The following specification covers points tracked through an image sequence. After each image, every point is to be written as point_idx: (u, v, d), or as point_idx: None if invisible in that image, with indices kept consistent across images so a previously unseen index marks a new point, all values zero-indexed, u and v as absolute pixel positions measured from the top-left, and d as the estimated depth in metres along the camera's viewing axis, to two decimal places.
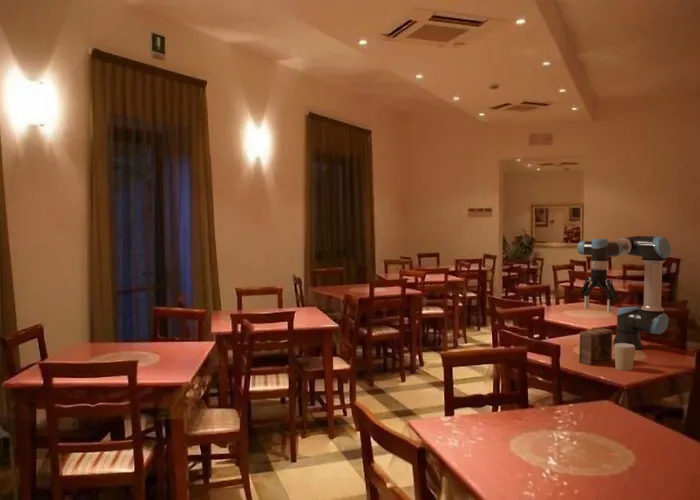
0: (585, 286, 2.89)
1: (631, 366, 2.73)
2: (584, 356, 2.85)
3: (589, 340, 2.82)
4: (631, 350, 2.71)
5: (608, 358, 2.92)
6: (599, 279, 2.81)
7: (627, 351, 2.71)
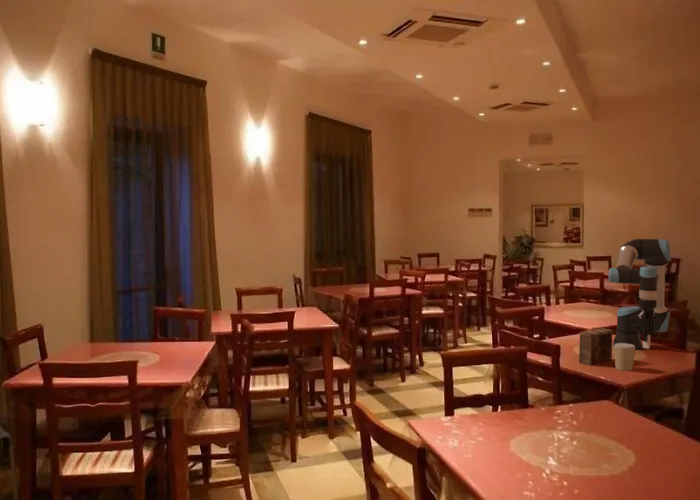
0: None
1: (631, 366, 2.73)
2: (584, 356, 2.85)
3: (589, 340, 2.82)
4: (631, 350, 2.71)
5: (608, 358, 2.92)
6: None
7: (627, 351, 2.71)
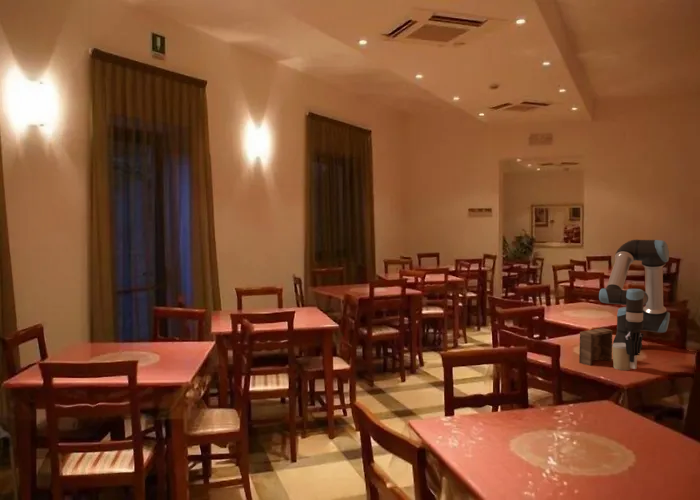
0: None
1: (629, 365, 2.74)
2: (584, 356, 2.85)
3: (589, 340, 2.82)
4: None
5: (608, 358, 2.92)
6: None
7: (625, 350, 2.72)
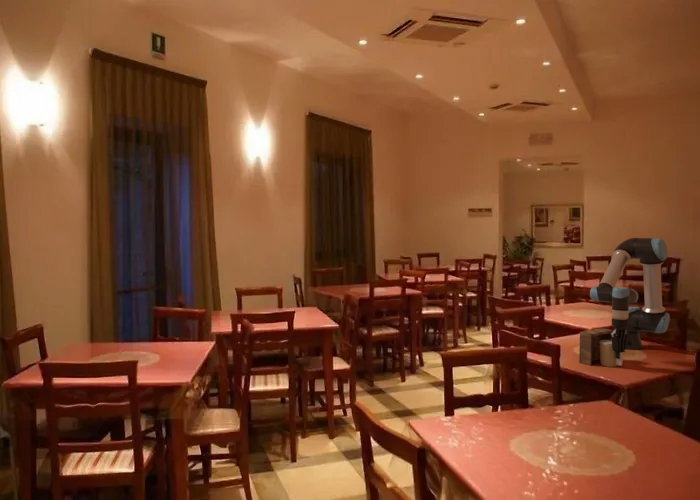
0: None
1: (615, 362, 2.80)
2: (584, 356, 2.85)
3: (589, 340, 2.82)
4: None
5: None
6: None
7: (610, 347, 2.79)
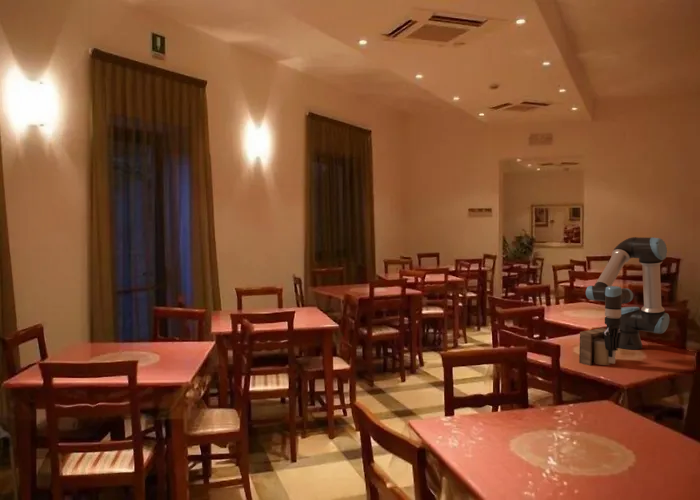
0: None
1: None
2: (584, 356, 2.85)
3: (589, 340, 2.82)
4: None
5: None
6: None
7: (603, 346, 2.82)
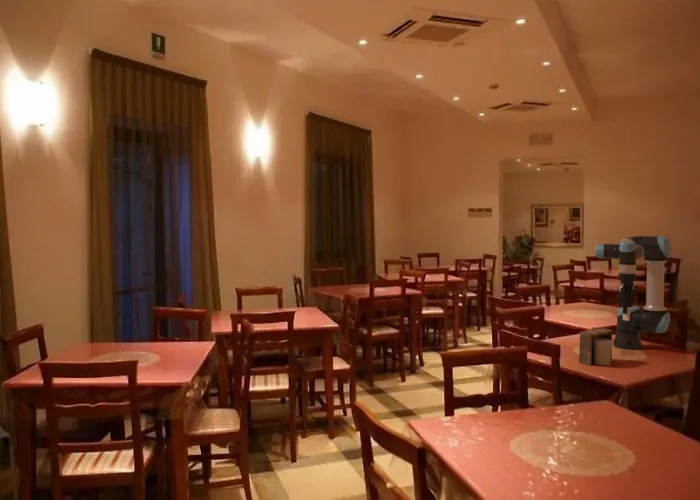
0: None
1: (608, 361, 2.83)
2: (584, 356, 2.85)
3: (589, 340, 2.82)
4: (607, 345, 2.82)
5: None
6: None
7: (603, 346, 2.82)
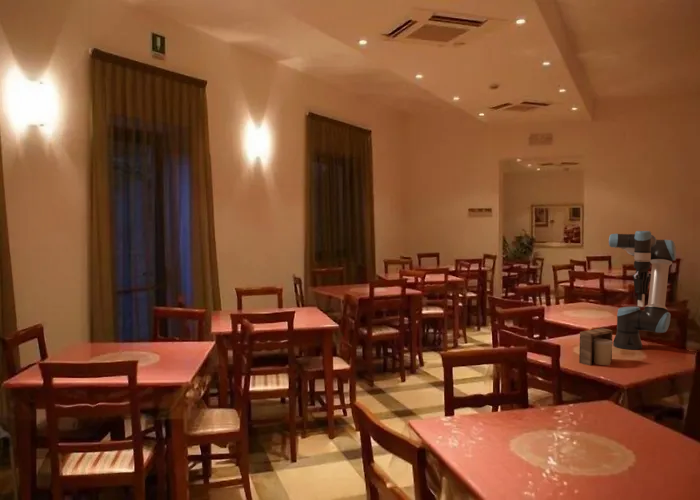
0: None
1: (608, 361, 2.83)
2: (584, 356, 2.85)
3: (589, 340, 2.82)
4: (607, 345, 2.82)
5: None
6: None
7: (603, 346, 2.82)
